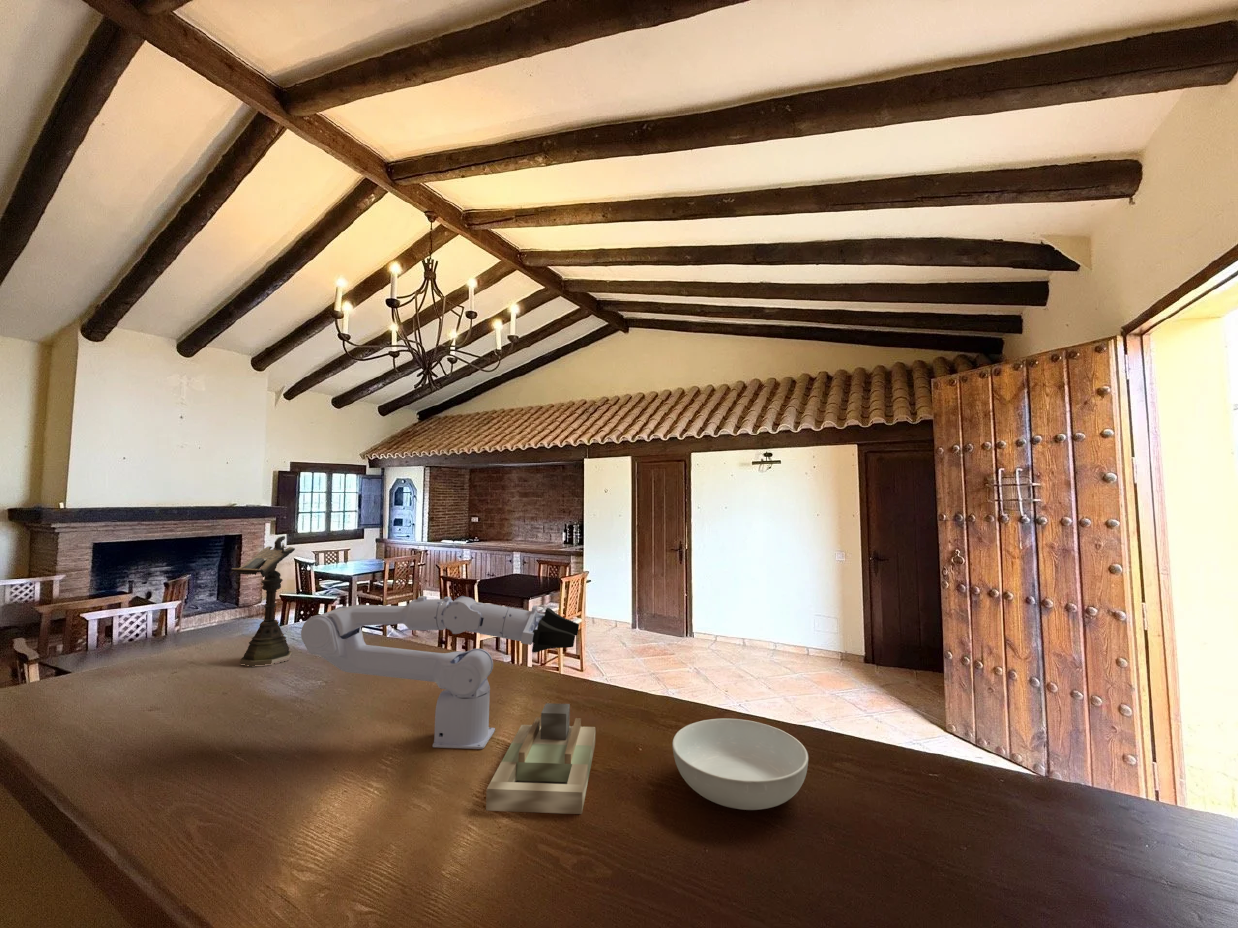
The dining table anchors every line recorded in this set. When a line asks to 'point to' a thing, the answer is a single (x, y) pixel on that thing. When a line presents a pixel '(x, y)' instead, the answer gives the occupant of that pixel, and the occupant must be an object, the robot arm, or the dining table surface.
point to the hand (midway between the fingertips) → (576, 635)
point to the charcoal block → (555, 721)
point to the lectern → (267, 607)
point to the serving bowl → (740, 762)
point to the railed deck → (543, 772)
